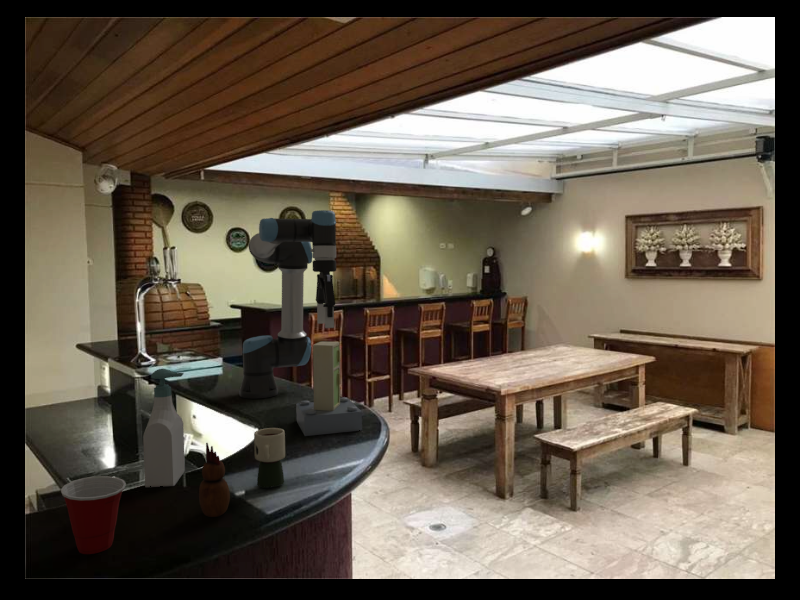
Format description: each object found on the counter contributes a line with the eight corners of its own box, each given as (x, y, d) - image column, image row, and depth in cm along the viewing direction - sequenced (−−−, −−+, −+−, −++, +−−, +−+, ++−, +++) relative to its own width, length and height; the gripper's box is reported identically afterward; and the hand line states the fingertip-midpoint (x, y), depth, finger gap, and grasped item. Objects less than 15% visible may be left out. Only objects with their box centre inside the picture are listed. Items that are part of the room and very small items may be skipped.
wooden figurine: (196, 511, 126) (193, 442, 125) (223, 505, 129) (221, 437, 128) (205, 523, 120) (203, 450, 119) (233, 515, 124) (231, 445, 123)
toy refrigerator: (335, 411, 186) (334, 345, 185) (313, 410, 188) (312, 344, 186) (342, 405, 194) (341, 341, 193) (321, 404, 195) (320, 341, 194)
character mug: (259, 477, 146) (258, 425, 145) (288, 476, 146) (287, 425, 145) (251, 495, 135) (249, 439, 134) (282, 494, 135) (281, 438, 134)
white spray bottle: (181, 486, 140) (177, 372, 139) (145, 488, 139) (140, 373, 138) (192, 470, 151) (188, 364, 150) (158, 471, 150) (154, 365, 149)
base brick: (296, 421, 197) (296, 400, 197) (349, 416, 203) (349, 396, 202) (304, 435, 180) (304, 413, 180) (361, 430, 186) (361, 408, 185)
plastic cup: (114, 560, 106) (111, 494, 105) (51, 562, 105) (48, 497, 104) (137, 532, 116) (135, 473, 116) (80, 534, 116) (78, 474, 115)
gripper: (306, 259, 199) (307, 322, 201) (319, 259, 175) (320, 330, 177) (328, 259, 201) (329, 321, 203) (344, 259, 178) (345, 329, 179)
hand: (325, 325), depth 190 cm, fingers open, 13 cm apart
